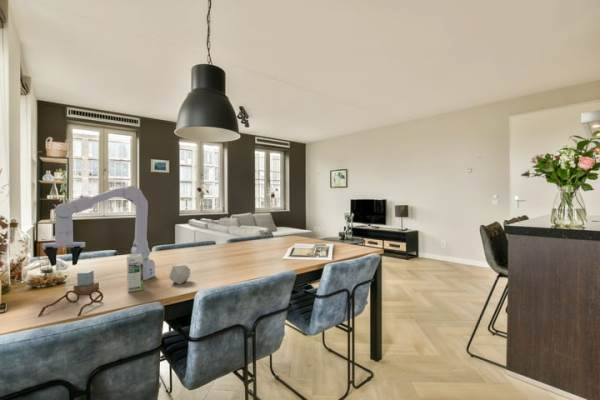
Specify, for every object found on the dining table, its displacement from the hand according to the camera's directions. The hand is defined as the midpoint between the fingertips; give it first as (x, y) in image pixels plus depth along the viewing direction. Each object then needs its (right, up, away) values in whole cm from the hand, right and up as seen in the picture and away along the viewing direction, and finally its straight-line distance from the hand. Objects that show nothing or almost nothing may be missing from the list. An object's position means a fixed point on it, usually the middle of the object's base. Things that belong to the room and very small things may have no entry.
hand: (64, 265), depth 120 cm
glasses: (+19, -11, -19) cm, 29 cm away
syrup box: (+28, -11, +2) cm, 30 cm away
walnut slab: (+9, -11, 0) cm, 14 cm away
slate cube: (+9, -8, 0) cm, 12 cm away
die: (+43, -11, +11) cm, 46 cm away
